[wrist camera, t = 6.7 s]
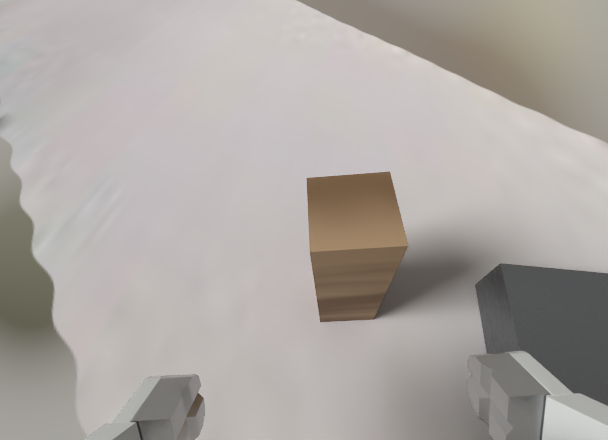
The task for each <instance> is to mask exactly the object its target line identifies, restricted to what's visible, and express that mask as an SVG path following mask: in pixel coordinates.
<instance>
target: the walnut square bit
mask: <svg viewBox="0 0 608 440" xmlns="http://www.w3.org/2000/svg"><path fill="white" fill-rule="evenodd" d="M307 195H308V218H309V242H310V256H311V262H312V269H313V276H314V282H315V289H316V296H317V302H318V309H319V316H320V322H329V321H349V320H370V319H374V317H375V315H376V313H377V311H378V309H379V307H380V305H381V302H382V300H383V298H384V296H385V294H386V292H387V290H388V288H389V286H390V283H391V281H392V279H393V277H394V275H395V273H396V271H397V269H398V266H399V264H400V262H401V260H402V258H403V256H404V254H405V252H406V250H407V247H408V243H407V239H406V235H405V231H404V227H403V223H402V219H401V215H400V211H399V207H398V203H397V199H396V195H395V191H394V187H393V183H392V179H391V174H390V172H380V173H367V174H354V175H341V176H328V177H315V178H307Z"/></svg>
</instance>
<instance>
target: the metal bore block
mask: <svg viewBox="0 0 608 440" xmlns="http://www.w3.org/2000/svg"><path fill="white" fill-rule="evenodd" d="M476 291H477V297H478V303H479V309H480V315H481V321H482V326H483V332H484V338H485V344H486V350H487V354H495V353H505V352H513V351H525V352H527V353H529V354H530V355H531V356H532V357H533V358H534V359H535V360H536V361H538V362H539V363H540V364H541V365H542V366H543V367H544V368H545V369H547V370H548V371H549V372H550V373H551V374H552V375H553V376H554V377H556V378H557V379H558V380H559V381H560V382H561V383H562V384H563V385H565V386H566V387H567V388H568V389H569V390H570V391H571V392H572V393H574V394H576V393H580V394H582V395H585V396H587V397H589V398H591V399H593V400H596V401H598V402H600V403H602V404H604V405H607V406H608V274H607V273H596V272H586V271H575V270H564V269H554V268H543V267H532V266H521V265H511V264H499V265H498V266H497V267H496V268H494V269H493V270H492V271H491V272H490V273H489V274H487V275H486V276H485V277H484V278H483V279H481V280H480V281H479V282H478V283H477V284H476Z"/></svg>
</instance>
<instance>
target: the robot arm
mask: <svg viewBox="0 0 608 440" xmlns="http://www.w3.org/2000/svg"><path fill="white" fill-rule="evenodd" d="M468 369H469V370H470V371H471V373H472V375H471V376H470V377H469V379H468V380H467V392H468V396H469V400H470V403H471V405H472V407H473V409H474V411H475V413H476V414H477V416H478V417H479V418H480V419H482V420H483V421H485V422H486V423H488V424H489V432H488V433H489V434H490V436H491V437H492V439H493V440H608V406H607V405H604V404H602V403H600V402H598V401H596V400H593V399H591V398H589V397H587V396H585V395H582V394H580V393H576V394H574V393H572V392H571V391H570V390H569V389H568V388H567V387H566V386H565V385H563V384H562V383H561V382H560V381H559V380H558V379H557V378H556V377H554V376H553V375H552V374H551V373H550V372H549V371H548V370H547V369H545V368H544V367H543V366H542V365H541V364H540V363H539V362H538V361H536V360H535V359H534V358H533V357H532V356H531V355H530V354H529V353H527V352H525V351H513V352H505V353H495V354H482V355H470V356H469V358H468ZM200 387H201V383H200V379H199V376H198V375H196V374H192V375H169V376H154V377H147V378H146V379H144V380H143V381H142V383H141V384H140V385H139V387H138V388H137V389H136V391H135V392H134V394H133V395H132V396H131V398H130V399H129V400H128V402H127V403H126V404H125V406H124V407H123V408H122V410H121V411H120V412H119V414H118V415H117V417H116V418H115V419H114V421H113V422H112V423H111V424H105V425H104V426H102V427H101V428H99V429H98V430H96V431H95V432H93V433H92V434H90V435H89V436H88V437H86V438H85V439H83V440H195V439H196V438H197V437H198V436H199V435H200V432H201V429H202V426H203V422H204V416H205V404H204V398H203V397H202V396H201V395H200V394H199V393H198V391H199V389H200Z"/></svg>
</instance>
